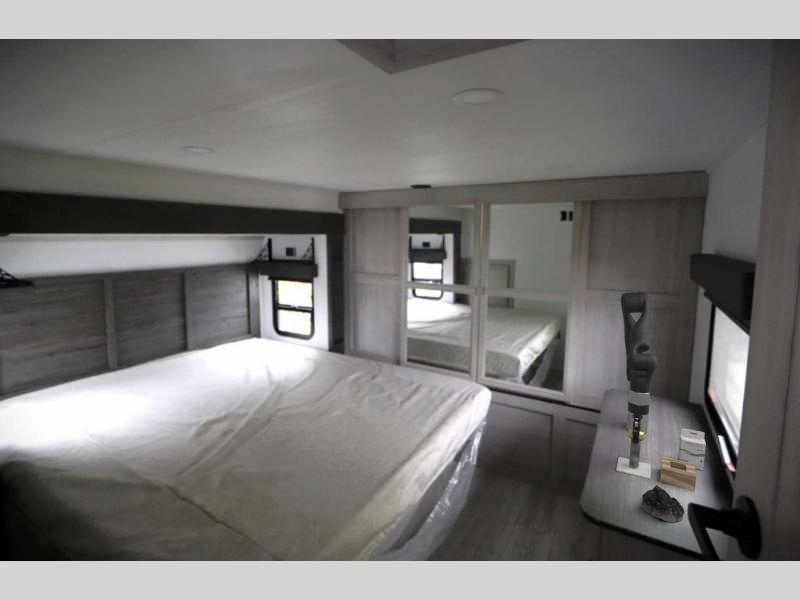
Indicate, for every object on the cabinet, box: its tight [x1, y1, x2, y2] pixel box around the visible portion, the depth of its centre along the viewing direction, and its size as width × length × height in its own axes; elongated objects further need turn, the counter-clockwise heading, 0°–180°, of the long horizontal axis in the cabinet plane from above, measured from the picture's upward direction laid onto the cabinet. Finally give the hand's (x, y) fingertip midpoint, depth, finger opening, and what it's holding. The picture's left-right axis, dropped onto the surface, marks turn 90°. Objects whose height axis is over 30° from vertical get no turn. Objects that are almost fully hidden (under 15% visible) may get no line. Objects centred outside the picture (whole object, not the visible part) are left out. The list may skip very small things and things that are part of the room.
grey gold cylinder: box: [628, 428, 645, 467], centre depth 171 cm, size 6×6×15 cm
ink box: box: [677, 427, 707, 471], centre depth 173 cm, size 9×5×15 cm, turn 59°
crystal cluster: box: [641, 484, 685, 523], centre depth 145 cm, size 13×14×10 cm
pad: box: [615, 456, 652, 480], centre depth 173 cm, size 12×12×1 cm
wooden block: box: [659, 456, 697, 493], centre depth 163 cm, size 11×11×6 cm
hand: (635, 439), depth 171 cm, fingers closed on grey gold cylinder, 5 cm apart
